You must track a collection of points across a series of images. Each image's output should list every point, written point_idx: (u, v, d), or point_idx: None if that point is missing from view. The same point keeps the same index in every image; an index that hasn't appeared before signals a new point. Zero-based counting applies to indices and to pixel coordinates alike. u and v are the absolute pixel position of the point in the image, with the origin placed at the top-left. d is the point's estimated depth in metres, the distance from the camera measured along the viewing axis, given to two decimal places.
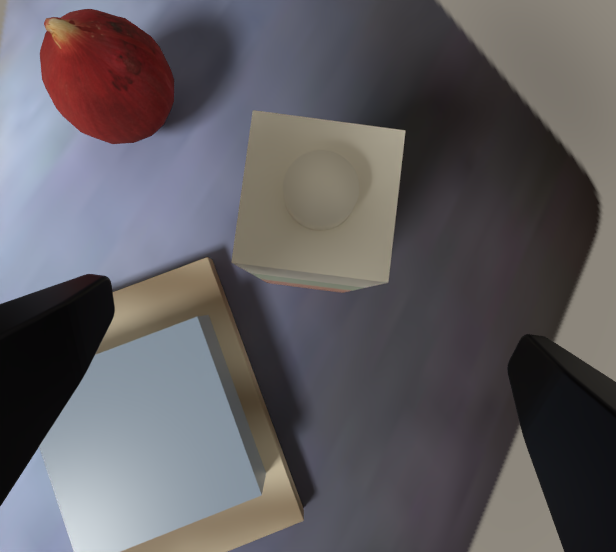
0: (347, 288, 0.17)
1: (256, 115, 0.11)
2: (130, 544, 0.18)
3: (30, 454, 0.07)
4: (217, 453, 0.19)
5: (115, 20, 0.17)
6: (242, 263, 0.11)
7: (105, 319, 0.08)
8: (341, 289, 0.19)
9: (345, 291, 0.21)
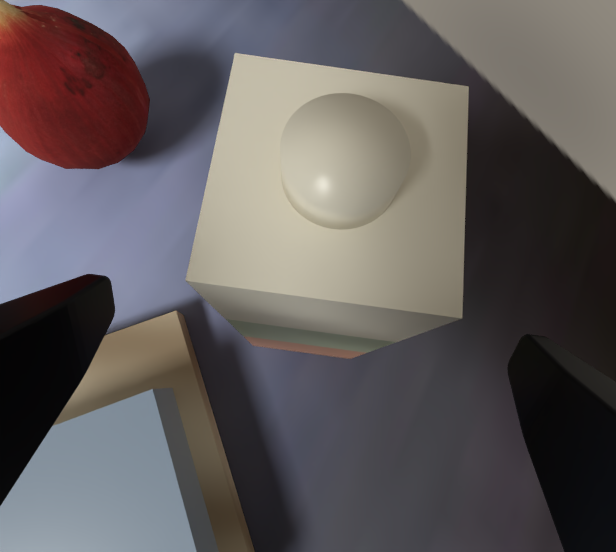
0: (364, 347, 0.12)
1: (240, 60, 0.07)
2: None
3: (30, 454, 0.07)
4: None
5: (78, 18, 0.15)
6: (205, 283, 0.06)
7: (105, 319, 0.08)
8: (353, 351, 0.14)
9: (356, 355, 0.16)
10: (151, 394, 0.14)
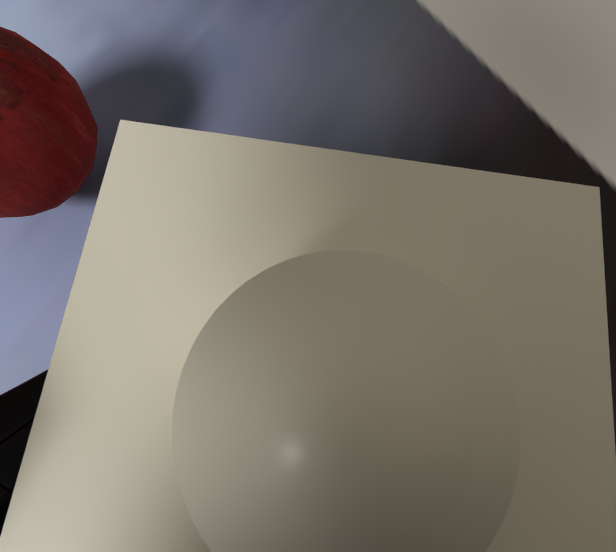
0: None
1: (131, 135, 0.04)
2: None
3: None
4: None
5: None
6: None
7: None
8: None
9: None
10: None
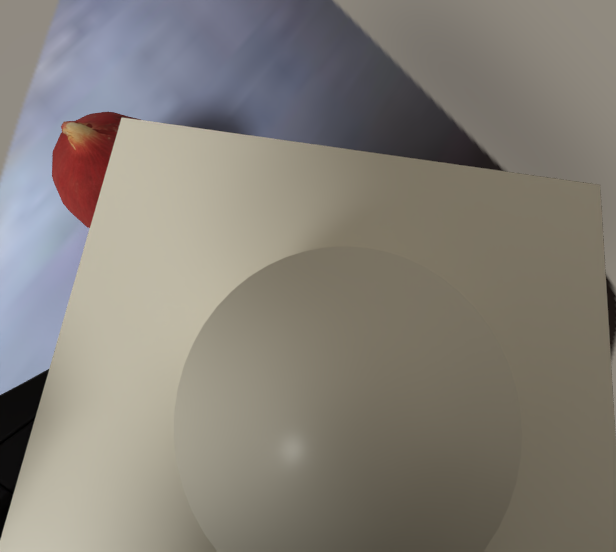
0: None
1: (132, 133, 0.04)
2: None
3: None
4: None
5: None
6: None
7: None
8: None
9: None
10: None
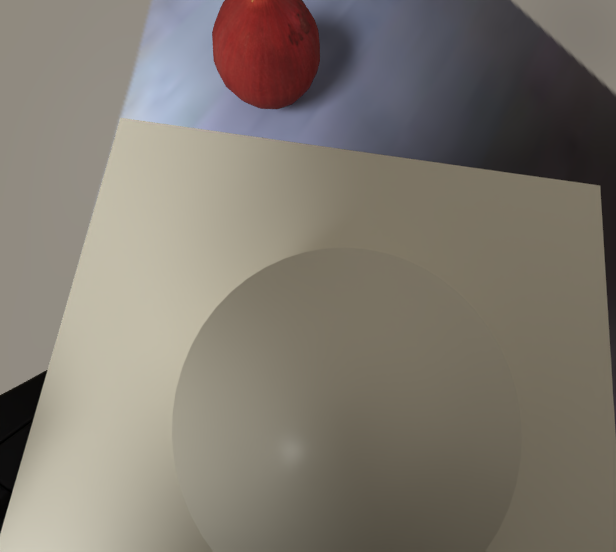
0: None
1: (131, 133, 0.04)
2: None
3: None
4: None
5: None
6: None
7: None
8: None
9: None
10: None
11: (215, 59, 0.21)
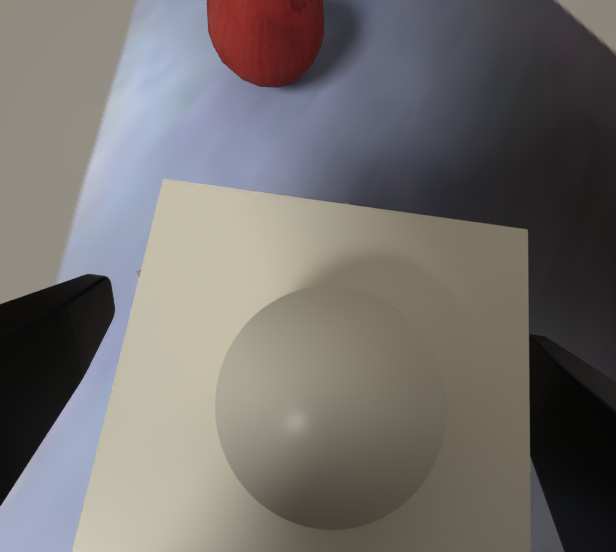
0: None
1: (171, 190, 0.05)
2: None
3: (30, 454, 0.07)
4: None
5: None
6: None
7: (105, 319, 0.08)
8: None
9: None
10: None
11: (210, 30, 0.19)
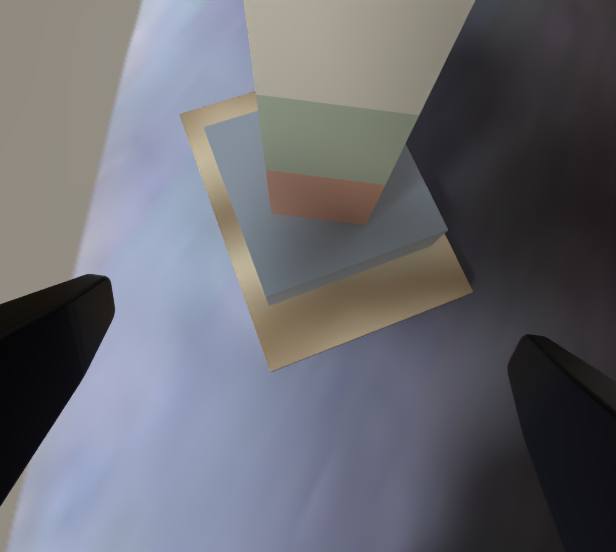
0: (385, 159, 0.13)
1: None
2: (318, 274, 0.18)
3: (30, 454, 0.07)
4: (400, 191, 0.19)
5: None
6: None
7: (105, 319, 0.08)
8: (371, 184, 0.15)
9: (373, 206, 0.16)
10: None
11: None
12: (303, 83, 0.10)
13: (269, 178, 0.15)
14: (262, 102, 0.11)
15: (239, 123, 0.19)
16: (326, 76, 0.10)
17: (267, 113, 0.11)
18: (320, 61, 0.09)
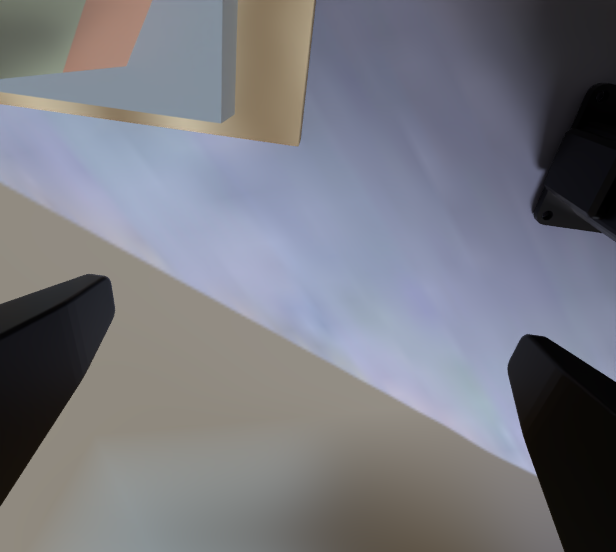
0: None
1: None
2: (218, 49, 0.14)
3: (30, 454, 0.07)
4: None
5: None
6: None
7: (105, 319, 0.08)
8: None
9: None
10: None
11: None
12: None
13: (75, 68, 0.12)
14: None
15: None
16: None
17: None
18: None
